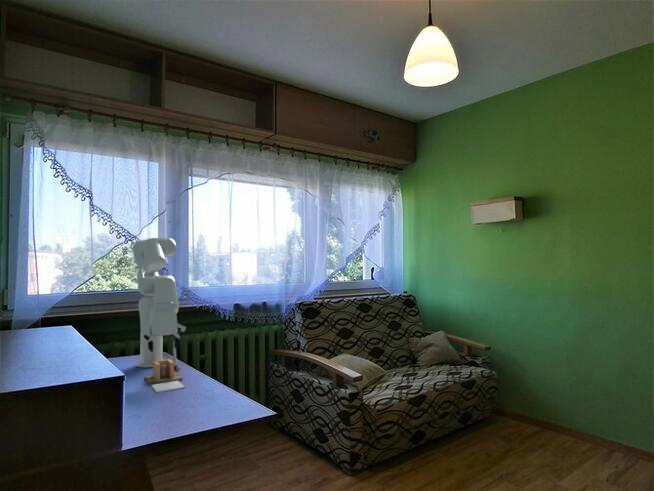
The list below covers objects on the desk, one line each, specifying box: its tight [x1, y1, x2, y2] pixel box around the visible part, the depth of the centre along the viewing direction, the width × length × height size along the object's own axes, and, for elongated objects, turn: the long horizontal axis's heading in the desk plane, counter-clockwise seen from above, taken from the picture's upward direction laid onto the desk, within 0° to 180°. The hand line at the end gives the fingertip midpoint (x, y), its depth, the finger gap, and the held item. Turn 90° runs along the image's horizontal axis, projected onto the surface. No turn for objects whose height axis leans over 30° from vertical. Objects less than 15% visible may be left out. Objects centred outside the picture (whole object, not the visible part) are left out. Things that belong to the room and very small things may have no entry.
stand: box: [144, 365, 184, 386], centre depth 169 cm, size 12×12×6 cm
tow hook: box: [172, 341, 181, 373], centre depth 181 cm, size 8×13×9 cm
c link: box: [152, 358, 174, 380], centre depth 169 cm, size 7×7×6 cm
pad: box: [150, 381, 186, 393], centre depth 158 cm, size 10×10×1 cm
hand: (163, 349), depth 168 cm, fingers open, 9 cm apart
